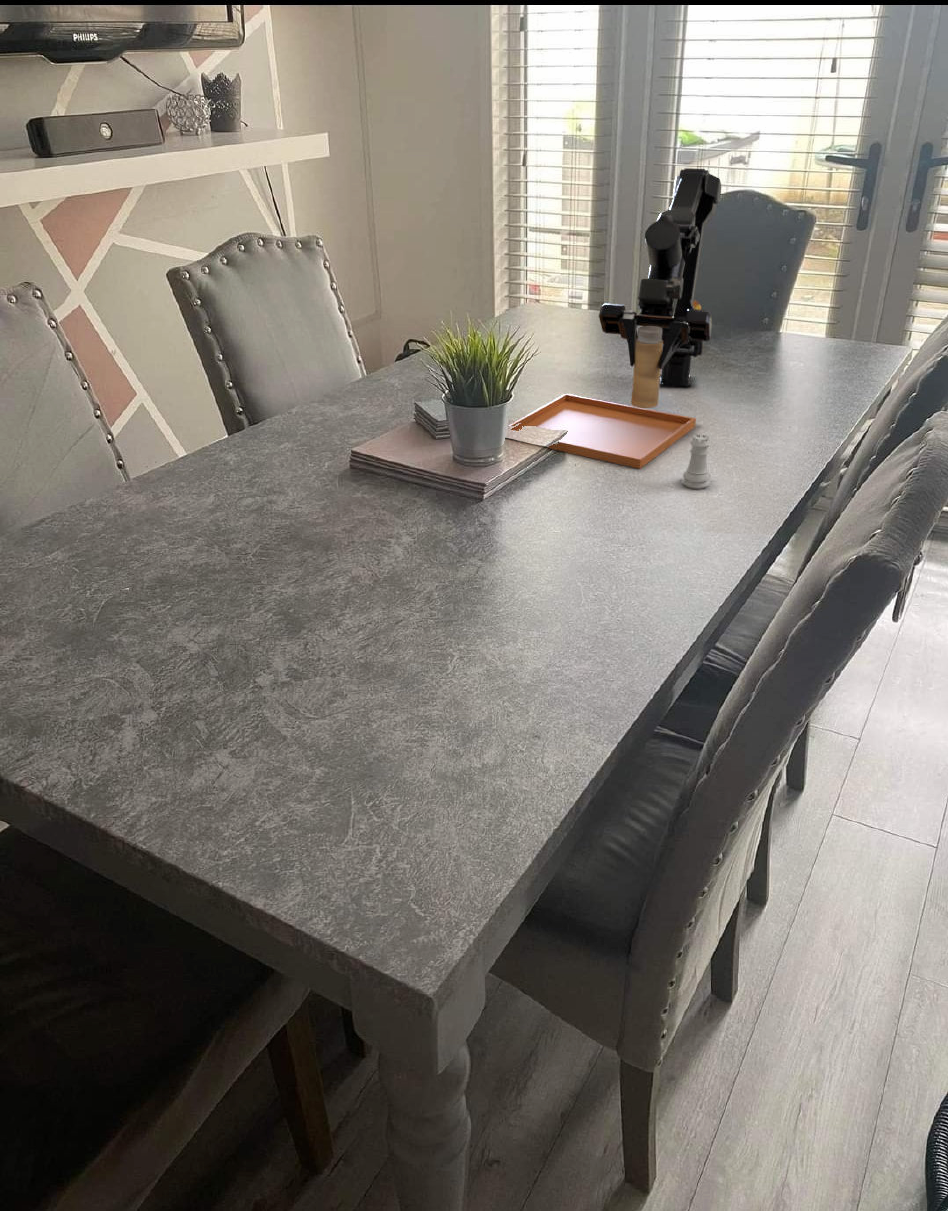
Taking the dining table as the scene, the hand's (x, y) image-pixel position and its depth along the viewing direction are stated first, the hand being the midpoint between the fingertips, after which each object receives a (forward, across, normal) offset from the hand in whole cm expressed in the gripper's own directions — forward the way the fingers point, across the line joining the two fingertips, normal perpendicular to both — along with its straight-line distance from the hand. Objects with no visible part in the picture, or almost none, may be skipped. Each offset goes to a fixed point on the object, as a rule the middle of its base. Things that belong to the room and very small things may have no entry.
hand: (645, 366), depth 163 cm
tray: (+8, -8, +11) cm, 16 cm away
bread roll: (-41, -7, +55) cm, 69 cm away
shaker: (+4, 0, +6) cm, 7 cm away
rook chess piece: (+21, +12, -2) cm, 24 cm away
